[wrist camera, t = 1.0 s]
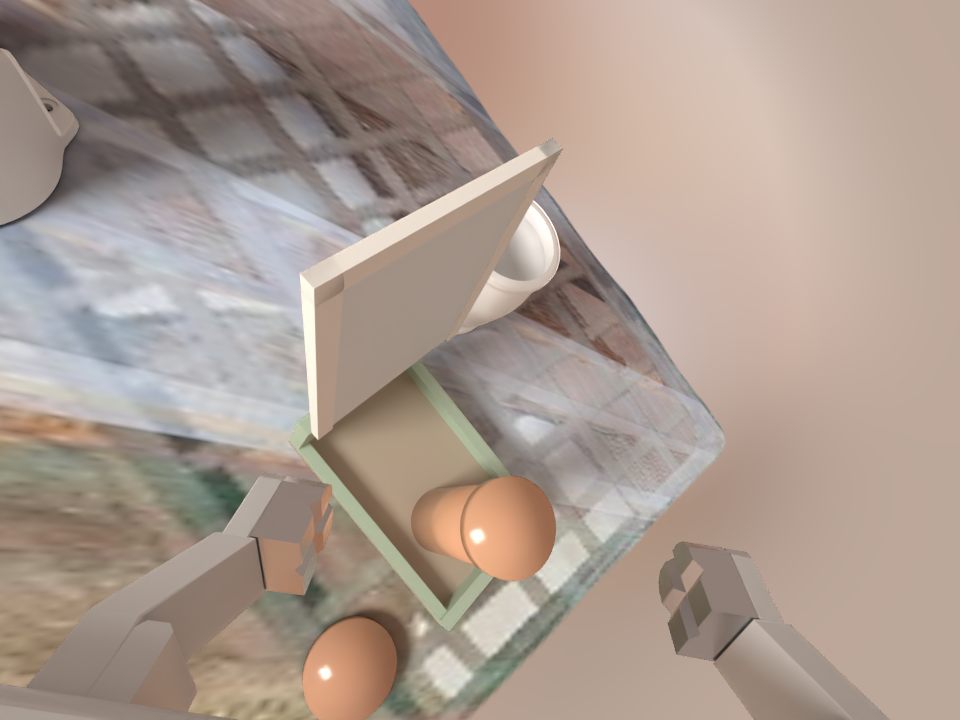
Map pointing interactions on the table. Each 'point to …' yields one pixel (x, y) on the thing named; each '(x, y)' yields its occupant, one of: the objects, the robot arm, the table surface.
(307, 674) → the terracotta round disc
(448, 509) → the orange-brown capped cylinder
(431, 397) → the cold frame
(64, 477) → the table surface
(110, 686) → the robot arm
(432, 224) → the lid
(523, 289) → the jar
